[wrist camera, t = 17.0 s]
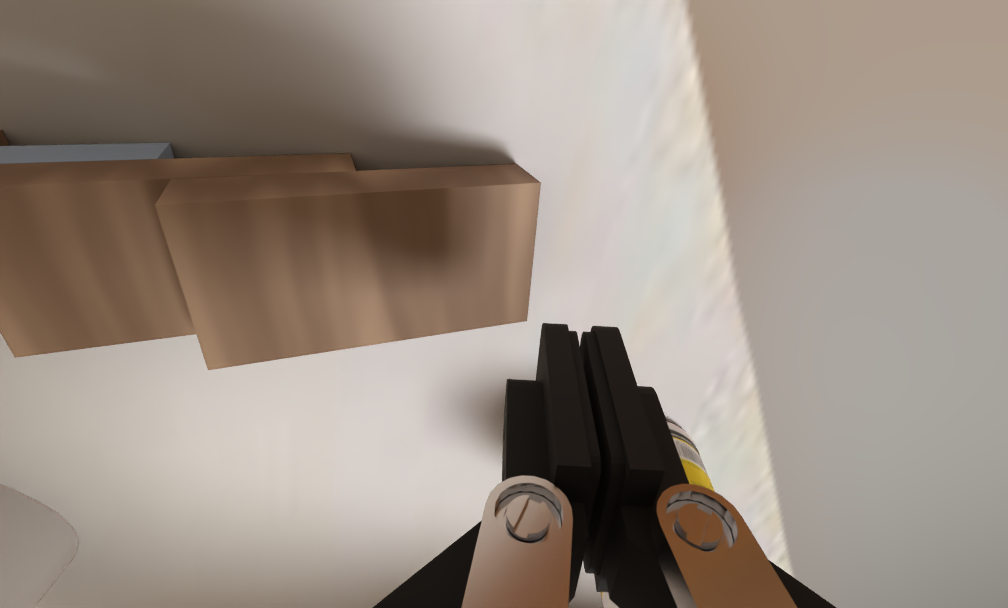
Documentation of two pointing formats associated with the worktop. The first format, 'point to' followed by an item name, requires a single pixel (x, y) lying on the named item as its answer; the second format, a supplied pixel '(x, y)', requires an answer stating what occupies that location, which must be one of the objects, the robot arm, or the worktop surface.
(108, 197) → the domino
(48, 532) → the lumpy-topped squat cylinder
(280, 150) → the worktop surface
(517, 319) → the domino
